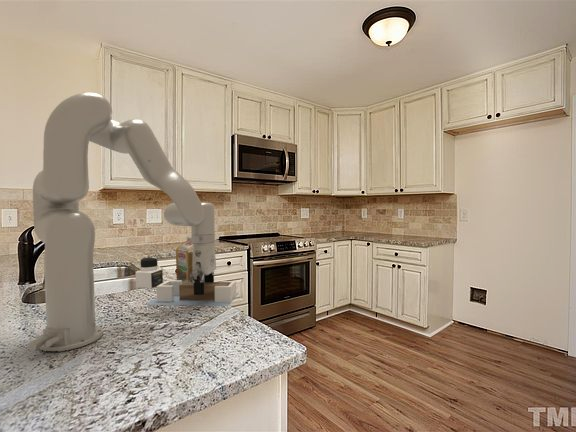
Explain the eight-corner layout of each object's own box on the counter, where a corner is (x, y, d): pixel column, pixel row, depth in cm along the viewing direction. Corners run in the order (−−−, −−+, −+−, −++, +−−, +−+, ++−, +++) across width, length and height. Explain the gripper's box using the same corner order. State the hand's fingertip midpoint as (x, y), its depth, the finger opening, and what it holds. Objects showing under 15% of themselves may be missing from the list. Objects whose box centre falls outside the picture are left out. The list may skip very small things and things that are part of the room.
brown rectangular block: (226, 300, 98) (226, 285, 98) (179, 300, 100) (179, 285, 99) (229, 297, 102) (229, 282, 102) (184, 296, 103) (183, 282, 103)
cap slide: (172, 301, 98) (171, 286, 97) (156, 301, 98) (156, 286, 98) (182, 294, 105) (182, 280, 105) (168, 294, 106) (167, 280, 106)
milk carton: (176, 283, 126) (175, 238, 125) (199, 278, 133) (198, 236, 133) (188, 287, 118) (187, 239, 118) (212, 282, 126) (211, 237, 125)
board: (228, 309, 93) (228, 305, 93) (144, 308, 95) (144, 304, 95) (238, 295, 107) (238, 292, 107) (165, 294, 109) (165, 292, 109)
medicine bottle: (152, 290, 115) (151, 259, 114) (135, 290, 116) (134, 259, 116) (163, 285, 122) (162, 256, 121) (147, 285, 123) (146, 256, 123)
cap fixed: (230, 302, 96) (230, 287, 96) (214, 302, 97) (214, 286, 97) (236, 295, 104) (236, 281, 104) (221, 295, 104) (221, 281, 104)
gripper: (205, 242, 91) (206, 298, 92) (221, 236, 108) (222, 283, 109) (181, 242, 92) (182, 298, 92) (201, 236, 109) (202, 283, 110)
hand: (204, 290), depth 101 cm, fingers open, 9 cm apart
